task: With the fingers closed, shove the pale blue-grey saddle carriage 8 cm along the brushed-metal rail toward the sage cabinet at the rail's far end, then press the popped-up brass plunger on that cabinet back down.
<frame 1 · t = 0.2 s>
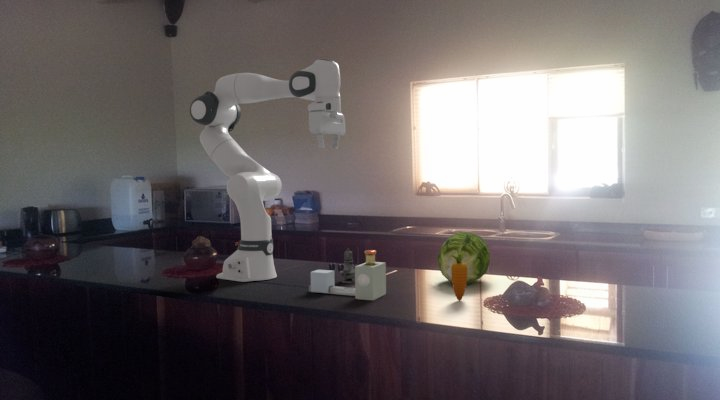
hand: (328, 147, 204), 47 cm above the counter, fingers open, 8 cm apart
plunger: (370, 259, 184), point 11 cm above the counter, slide at 0.0 cm
lettuce: (462, 284, 203), on the counter
cabinet: (371, 296, 185), on the counter
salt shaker: (348, 282, 209), on the counter
carriage: (322, 281, 192), point 4 cm above the counter, slide at 0.0 cm
carrot: (459, 301, 177), on the counter
rail: (337, 293, 190), on the counter
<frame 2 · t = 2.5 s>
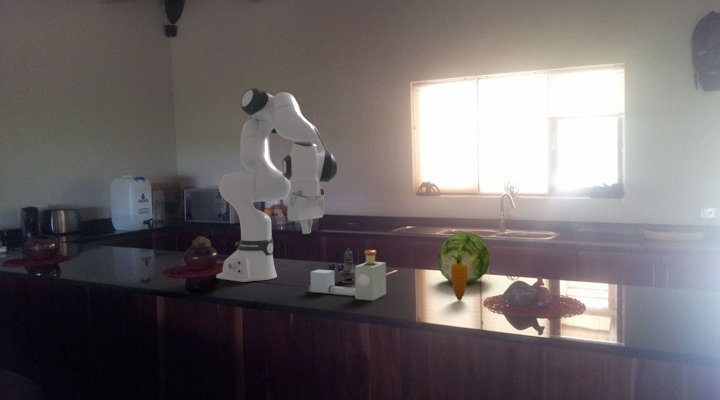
hand: (306, 233, 195), 19 cm above the counter, fingers closed
nothing on the counter moved.
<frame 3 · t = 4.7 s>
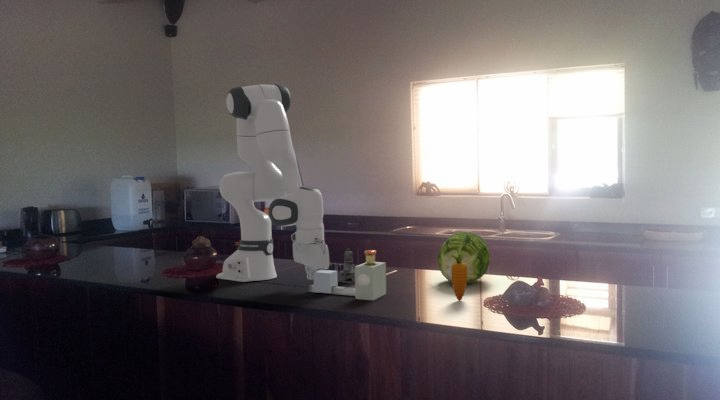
hand: (311, 279, 193), 4 cm above the counter, fingers closed
carriage: (325, 281, 191), point 4 cm above the counter, slide at 1.1 cm, touching gripper
everything else where it was.
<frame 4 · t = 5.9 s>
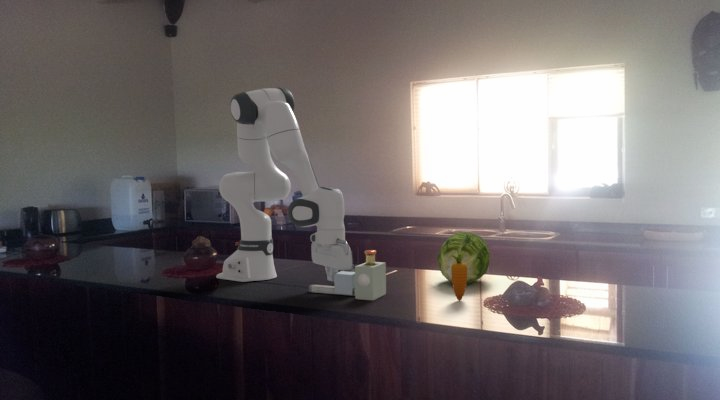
hand: (331, 280, 190), 4 cm above the counter, fingers closed
carriage: (346, 282, 188), point 4 cm above the counter, slide at 8.6 cm, touching gripper
everything else where it was.
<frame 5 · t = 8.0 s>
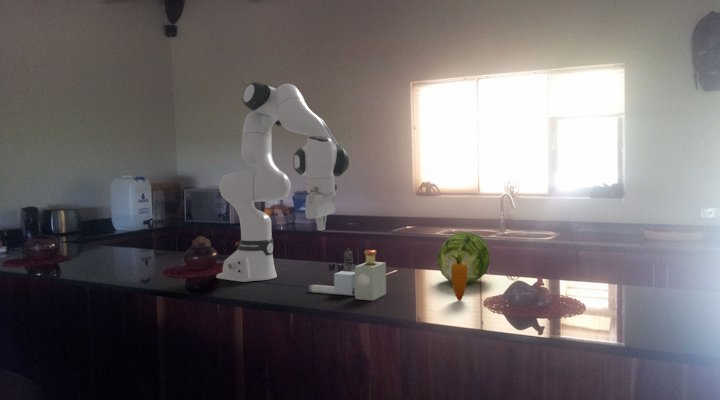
hand: (321, 230, 191), 20 cm above the counter, fingers closed
carriage: (346, 282, 188), point 4 cm above the counter, slide at 8.5 cm
everything else where it was.
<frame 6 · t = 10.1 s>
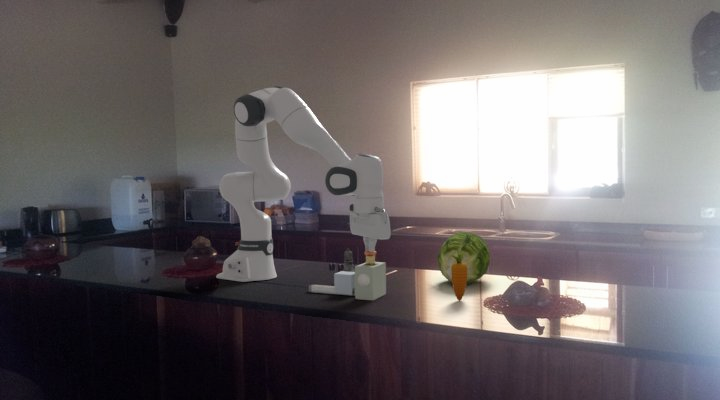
hand: (370, 251, 184), 14 cm above the counter, fingers closed, pressing on plunger
plunger: (370, 260, 184), point 11 cm above the counter, slide at 0.2 cm, touching gripper
everything else where it was.
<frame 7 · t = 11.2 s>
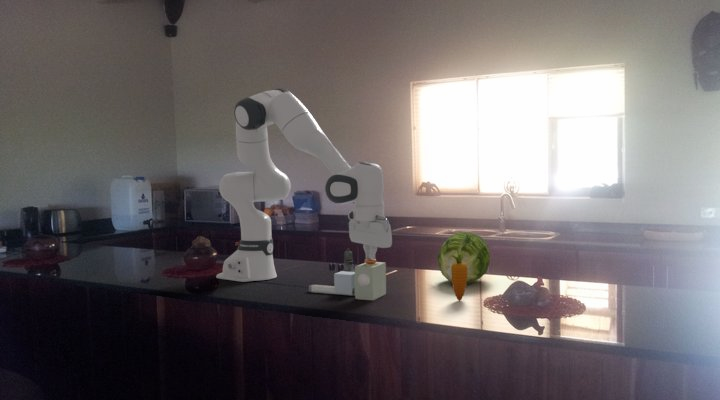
hand: (370, 259, 184), 12 cm above the counter, fingers closed
plunger: (370, 268, 184), point 9 cm above the counter, slide at 2.7 cm
everything else where it was.
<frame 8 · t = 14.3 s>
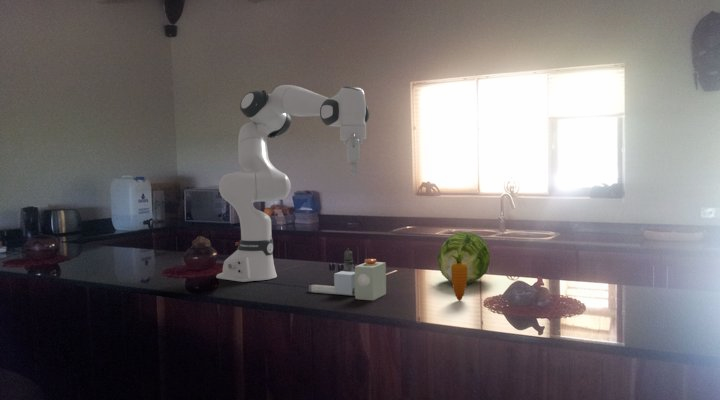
hand: (353, 176, 201), 37 cm above the counter, fingers closed
nothing on the counter moved.
at the end: carriage slide at 8.5 cm; plunger slide at 2.7 cm; the gripper is holding nothing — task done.
